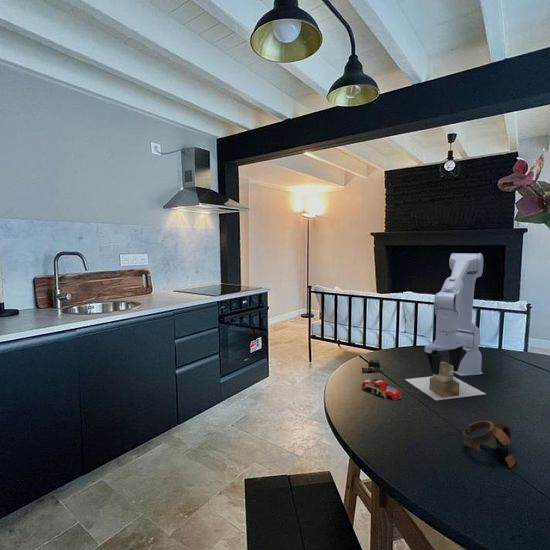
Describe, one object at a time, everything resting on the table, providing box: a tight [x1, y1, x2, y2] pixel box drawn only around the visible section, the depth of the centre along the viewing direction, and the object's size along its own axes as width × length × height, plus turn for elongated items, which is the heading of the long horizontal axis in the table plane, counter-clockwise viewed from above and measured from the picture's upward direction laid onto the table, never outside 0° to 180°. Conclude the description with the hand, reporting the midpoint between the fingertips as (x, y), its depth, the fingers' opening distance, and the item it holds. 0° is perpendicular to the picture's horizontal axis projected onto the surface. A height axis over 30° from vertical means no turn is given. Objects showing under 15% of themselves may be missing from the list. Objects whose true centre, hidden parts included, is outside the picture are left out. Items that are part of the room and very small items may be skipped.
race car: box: [361, 378, 403, 401], centre depth 107 cm, size 13×6×4 cm, turn 40°
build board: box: [404, 375, 486, 401], centre depth 111 cm, size 18×16×1 cm
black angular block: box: [361, 359, 386, 374], centre depth 125 cm, size 12×7×5 cm, turn 71°
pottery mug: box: [461, 420, 517, 469], centre depth 77 cm, size 12×10×8 cm
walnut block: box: [429, 376, 460, 398], centre depth 106 cm, size 6×6×4 cm
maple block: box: [432, 361, 454, 383], centre depth 106 cm, size 4×4×5 cm
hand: (444, 372), depth 105 cm, fingers open, 7 cm apart
